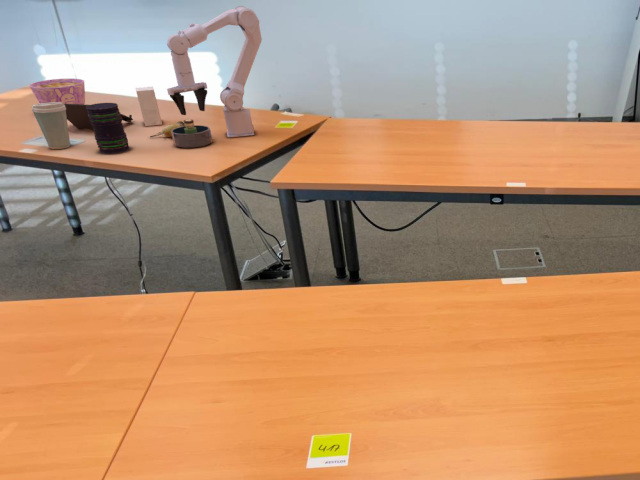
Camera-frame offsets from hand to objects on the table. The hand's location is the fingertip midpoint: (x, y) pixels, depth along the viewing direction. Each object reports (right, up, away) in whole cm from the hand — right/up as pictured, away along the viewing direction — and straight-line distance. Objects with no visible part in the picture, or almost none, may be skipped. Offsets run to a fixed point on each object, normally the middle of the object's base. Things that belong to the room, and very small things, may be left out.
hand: (193, 112), depth 262 cm
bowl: (0, -11, 0) cm, 11 cm away
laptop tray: (-46, +2, +20) cm, 50 cm away
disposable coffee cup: (-45, -14, -4) cm, 48 cm away
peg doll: (0, -11, 0) cm, 11 cm away
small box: (-27, +5, +25) cm, 37 cm away
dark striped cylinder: (-24, -16, -7) cm, 30 cm away
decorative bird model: (-12, -6, +8) cm, 16 cm away
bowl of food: (-71, +15, +41) cm, 83 cm away
